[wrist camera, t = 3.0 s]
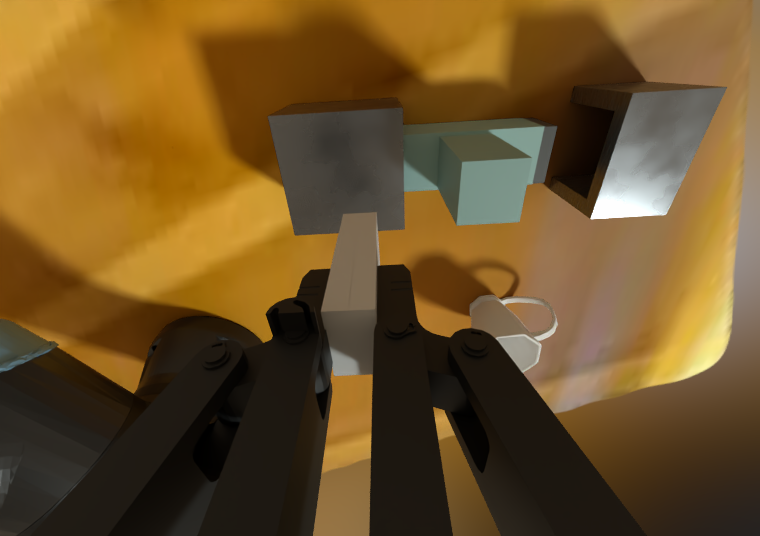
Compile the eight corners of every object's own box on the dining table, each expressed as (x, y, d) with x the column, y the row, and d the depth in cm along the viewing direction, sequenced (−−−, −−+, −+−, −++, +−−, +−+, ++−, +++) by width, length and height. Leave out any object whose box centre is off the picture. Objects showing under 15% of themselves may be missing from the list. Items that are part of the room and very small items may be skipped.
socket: (549, 188, 31) (590, 218, 25) (574, 86, 26) (633, 93, 20) (609, 185, 31) (666, 214, 25) (646, 81, 26) (727, 86, 20)
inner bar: (306, 181, 31) (272, 239, 21) (296, 131, 28) (253, 170, 18) (523, 168, 30) (597, 221, 20) (533, 117, 28) (622, 147, 18)
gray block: (310, 202, 32) (294, 235, 26) (291, 104, 27) (267, 116, 21) (398, 197, 32) (404, 229, 26) (396, 97, 27) (402, 107, 21)
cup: (449, 300, 39) (464, 350, 32) (528, 265, 36) (563, 312, 30) (469, 335, 42) (488, 386, 36) (544, 305, 40) (578, 355, 33)
